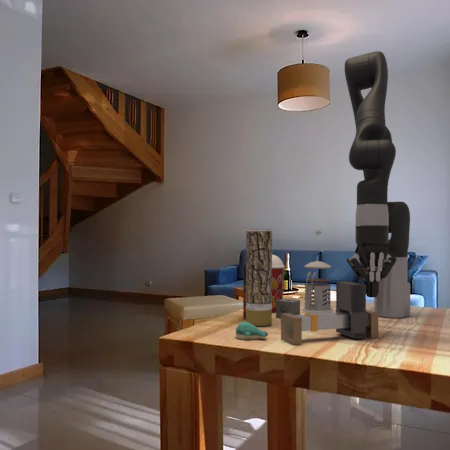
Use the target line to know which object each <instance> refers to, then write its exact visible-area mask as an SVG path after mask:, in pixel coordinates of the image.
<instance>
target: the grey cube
mask: <svg viewBox="0 0 450 450" xmlns="http://www.w3.org/2000/svg"><path fill="white" fill-rule="evenodd" d="M283 313H290V314H293V315H301V300H300V299H293V298H283V299H281V300H276V312H275V318H276V319H279V320H281V314H283Z"/></svg>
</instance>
